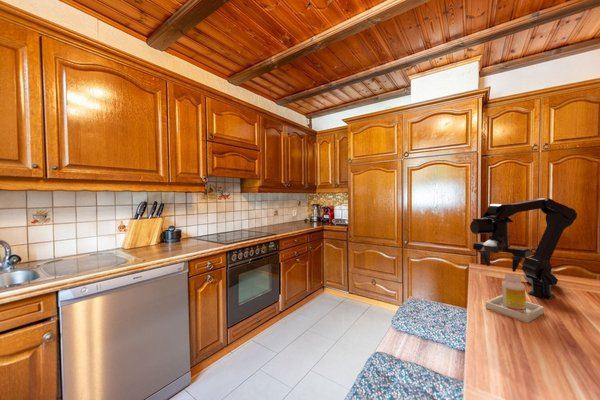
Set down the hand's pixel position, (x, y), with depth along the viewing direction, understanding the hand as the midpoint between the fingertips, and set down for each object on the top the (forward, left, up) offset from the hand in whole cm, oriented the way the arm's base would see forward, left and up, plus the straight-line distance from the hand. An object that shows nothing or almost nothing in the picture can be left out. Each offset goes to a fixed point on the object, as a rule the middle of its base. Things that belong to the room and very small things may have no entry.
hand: (500, 268), depth 101 cm
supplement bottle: (+10, +9, -12) cm, 18 cm away
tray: (+10, +9, -12) cm, 18 cm away
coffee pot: (-33, +1, -12) cm, 35 cm away
